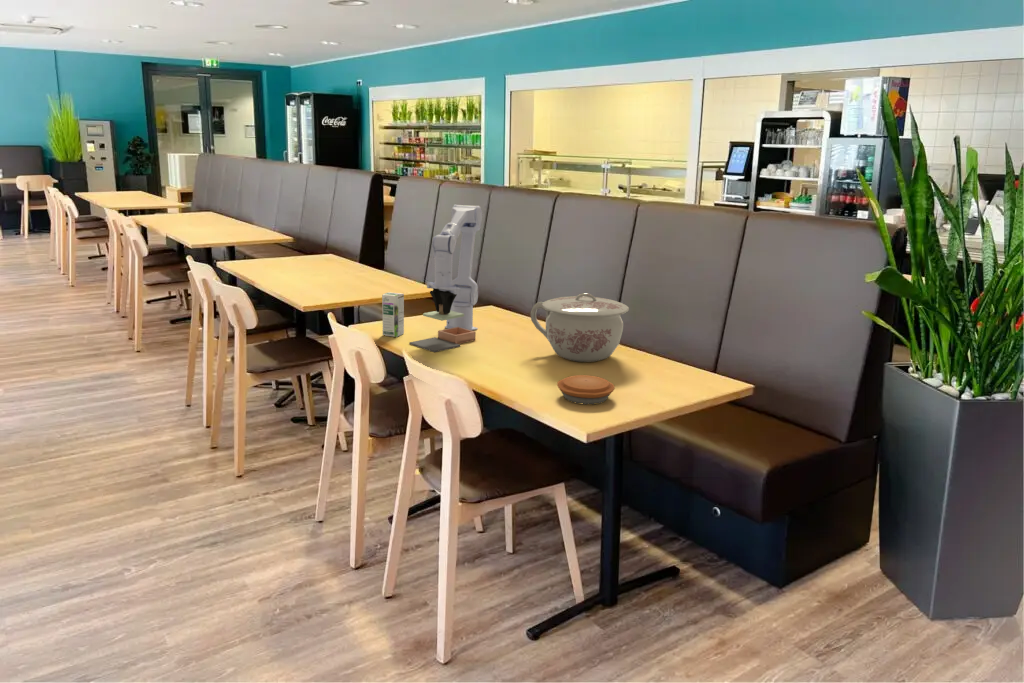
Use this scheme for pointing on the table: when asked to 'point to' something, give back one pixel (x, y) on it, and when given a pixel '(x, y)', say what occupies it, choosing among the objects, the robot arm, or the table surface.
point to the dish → (457, 335)
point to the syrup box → (393, 314)
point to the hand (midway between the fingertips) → (443, 312)
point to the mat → (434, 344)
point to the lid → (441, 315)
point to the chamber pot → (582, 326)
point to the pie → (585, 389)
